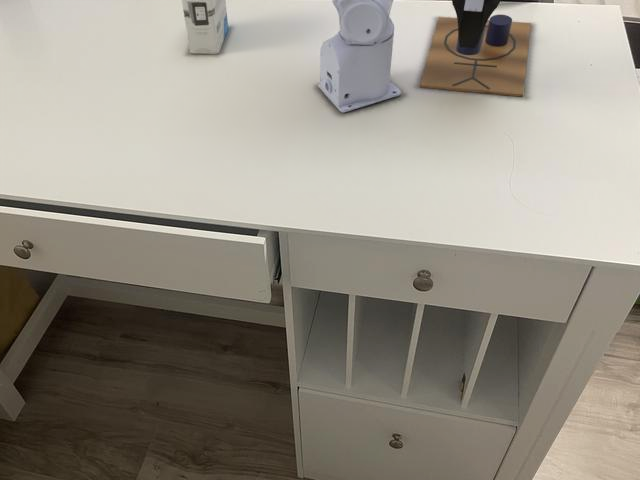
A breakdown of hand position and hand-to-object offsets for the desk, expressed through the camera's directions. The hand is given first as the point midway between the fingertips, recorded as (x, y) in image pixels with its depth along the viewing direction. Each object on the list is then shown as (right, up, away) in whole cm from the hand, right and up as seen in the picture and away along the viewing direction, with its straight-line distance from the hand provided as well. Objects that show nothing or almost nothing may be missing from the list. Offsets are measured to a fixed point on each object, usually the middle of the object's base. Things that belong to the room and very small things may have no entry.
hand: (469, 39), depth 87 cm
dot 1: (0, -1, +1) cm, 1 cm away
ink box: (-35, +8, +23) cm, 43 cm away
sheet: (+6, +3, +13) cm, 14 cm away
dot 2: (+9, +5, +14) cm, 17 cm away
